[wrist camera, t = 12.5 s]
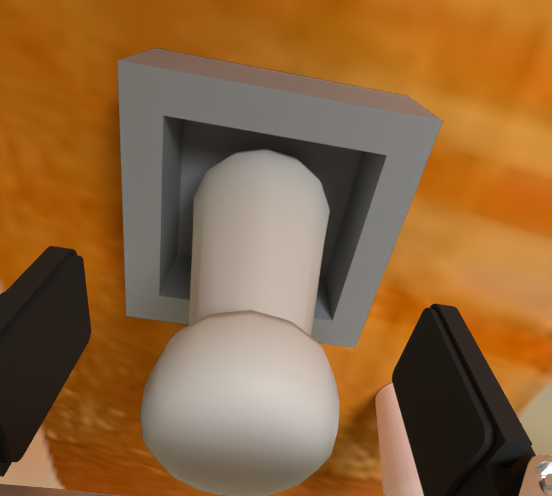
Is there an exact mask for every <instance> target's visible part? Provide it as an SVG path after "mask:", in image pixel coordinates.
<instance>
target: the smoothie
mask: <svg viewBox="0 0 552 496" xmlns="http://www.w3.org/2000/svg"><path fill="white" fill-rule="evenodd" d="M375 404H376V415H377V427H378V438H379V449H380V460H381V471H382V482H383V494H384V496H424V494H423V491H422V487H421V484H420V480H419V476H418V473H417V469H416V466H415V462H414V458H413V455H412V451H411V448H410V444H409V440H408V437H407V433H406V430H405V426H404V423H403V419H402V415H401V412H400V408H399V405H398V401H397V397H396V394H395V390H394V387H393V383H391V384H389V385H387V386H385V387H383V388H382V389H381V390H380V391H379V392H378V393H377V395H376V398H375Z"/></svg>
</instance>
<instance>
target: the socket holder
mask: <svg viewBox="0 0 552 496" xmlns="http://www.w3.org/2000/svg"><path fill="white" fill-rule="evenodd" d="M118 90H119V119H120V148H121V177H122V207H123V236H124V265H125V294H126V316H129V317H136V318H143V319H150V320H157V321H165V322H172V323H179V324H186V325H189V310H190V287H191V264H192V240H193V200H194V195H195V193H196V191H197V190H198V188H199V186H200V184H201V182H202V180H203V178H204V176H205V174H206V172H207V171H208V170H209V169H210V168H212V167H213V166H215V165H217V164H218V163H220V162H221V161H223V160H225V159H226V158H228V157H229V156H231V155H233V154H234V153H236V152H242V151H249V150H256V149H263V148H269V149H271V150H274V151H277V152H280V153H283V154H286V155H289V156H292V157H295V158H297V159H298V160H299V161H300V162H301V163H302V164H304V165H305V166H306V167H307V168H308V169H309V170H310V171H311V172H312V173H313V174H314V175H315V176H316V177H317V178H318V179H319V180H320V182H321V184H322V187H323V191H324V194H325V197H326V200H327V203H328V206H329V209H330V213H329V218H328V224H327V229H326V235H325V240H324V247H323V255H322V262H321V269H320V276H319V283H318V290H317V297H316V304H315V311H314V319H313V326H312V333H311V336H312V337H313V338H314V339H316V340H317V341H318V342H319V343H322V344H330V345H337V346H344V347H351V348H355V347H356V344H357V342H358V339H359V337H360V334H361V331H362V329H363V326H364V324H365V321H366V318H367V316H368V313H369V311H370V308H371V305H372V303H373V300H374V298H375V295H376V293H377V290H378V287H379V285H380V282H381V280H382V277H383V274H384V272H385V269H386V267H387V264H388V261H389V259H390V256H391V254H392V251H393V248H394V246H395V243H396V241H397V238H398V235H399V233H400V230H401V228H402V225H403V223H404V220H405V217H406V215H407V212H408V210H409V207H410V204H411V202H412V199H413V197H414V194H415V191H416V189H417V186H418V184H419V181H420V178H421V176H422V173H423V171H424V168H425V166H426V163H427V160H428V158H429V155H430V153H431V150H432V147H433V145H434V142H435V140H436V137H437V134H438V132H439V129H440V127H441V124H442V120H441V119H440V118H438V117H437V116H435V115H434V114H432V113H431V112H430V111H428V110H427V109H425V108H424V107H423V106H421V105H420V104H418V103H417V102H415V101H414V100H413V99H411V98H410V97H408V96H405V95H400V94H395V93H390V92H384V91H379V90H374V89H369V88H363V87H358V86H353V85H348V84H342V83H337V82H332V81H327V80H321V79H316V78H311V77H306V76H300V75H295V74H290V73H285V72H279V71H274V70H269V69H264V68H258V67H253V66H248V65H243V64H237V63H232V62H227V61H222V60H216V59H211V58H206V57H201V56H195V55H190V54H185V53H180V52H174V51H169V50H164V49H159V48H155V49H151V50H148V51H145V52H142V53H138V54H135V55H132V56H129V57H126V58H122V59H119V60H118Z"/></svg>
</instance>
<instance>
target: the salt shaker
mask: <svg viewBox="0 0 552 496" xmlns="http://www.w3.org/2000/svg"><path fill="white" fill-rule="evenodd" d="M329 213H330V209H329V206H328V203H327V200H326V197H325V194H324V191H323V187H322V184H321V182H320V180H319V179H318V178H317V177H316V176H315V175H314V174H313V173H312V172H311V171H310V170H309V169H308V168H307V167H306V166H305V165H304V164H302V163H301V162H300V161H299V160H298V159H297V158H295V157H292V156H289V155H286V154H283V153H280V152H277V151H274V150H271V149H269V148H263V149H256V150H249V151H242V152H236V153H234V154H233V155H231V156H229V157H228V158H226V159H225V160H223V161H221V162H220V163H218V164H217V165H215V166H213V167H212V168H210V169H209V170H208V171H207V172H206V174H205V176H204V178H203V180H202V182H201V184H200V186H199V188H198V190H197V191H196V193H195V195H194V200H193V240H192V264H191V287H190V310H189V325H188V326H186V327H184V328H182V329H180V330H179V331H178V332H177V333H176V334H175V335H174V336H173V337H172V338H171V339H170V341H169V342H168V344H167V345H166V347H165V349H164V350H163V352H162V353H161V355H160V357H159V358H158V360H157V362H156V363H155V365H154V367H153V369H152V372H151V374H150V376H149V378H148V380H147V382H146V385H145V387H144V394H143V400H142V407H141V413H140V416H141V425H142V434H143V442H144V443H145V445H146V446H147V447H148V449H149V450H150V451H151V453H152V454H153V455H154V457H155V458H156V459H157V460H158V461H159V462H160V463H161V464H162V466H163V467H164V468H165V469H166V470H167V471H168V472H169V473H170V474H171V475H172V476H173V477H174V478H176V479H178V480H180V481H182V482H184V483H186V484H188V485H190V486H192V487H194V488H196V489H198V490H200V491H205V492H210V493H216V494H221V495H227V496H268V495H271V494H274V493H277V492H280V491H283V490H286V489H289V488H292V487H295V486H298V485H299V484H300V483H302V482H303V481H304V480H305V479H307V478H308V477H309V476H310V475H312V474H313V473H314V472H315V471H317V470H318V469H319V468H320V467H321V466H322V465H323V464H324V462H325V461H326V460H327V459H328V458H329V457H330V456H331V454H332V450H333V446H334V443H335V439H336V435H337V432H338V423H339V406H340V401H339V396H338V391H337V386H336V381H335V377H334V375H333V372H332V370H331V367H330V365H329V362H328V360H327V357H326V355H325V352H324V350H323V348H322V347H321V345H320V343H319V342H318V341H317V340H316V339H314V338H313V337H312V336H311V333H312V326H313V319H314V311H315V304H316V297H317V290H318V283H319V276H320V269H321V262H322V255H323V247H324V240H325V235H326V229H327V224H328V218H329Z"/></svg>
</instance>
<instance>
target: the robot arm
mask: <svg viewBox="0 0 552 496" xmlns="http://www.w3.org/2000/svg"><path fill="white" fill-rule="evenodd" d="M90 335H91V326H90V317H89V308H88V299H87V290H86V281H85V272H84V263H83V258H82V257H81V256H77V253H76V251H75V250H73V249H68V248H61V247H54V246H50V247H48V248H47V249H46V250H45V251H44V252H43V253H42V254H41V255H40V256H39V257H38V258H37V259H36V260H35V261H34V262H33V264H32V265H31V266H30V267H29V268H28V269H27V270H26V271H25V272H24V273H23V274H22V275H21V276H20V277H19V278H18V279H17V280H16V281H15V282H14V283H13V285H12V286H11V287H10V288H9V289H8V290H7V291H6V292H4V293H2V294H0V476H4V475H5V473H6V472H7V470H8V468H9V466H10V465H11V463H12V462H18V461H19V460H20V459H21V458H22V457H23V455H24V453H25V452H26V450H27V448H28V447H29V445H30V443H31V441H32V440H33V438H34V436H35V434H36V433H37V431H38V429H39V427H40V426H41V424H42V422H43V420H44V419H45V417H46V415H47V413H48V412H49V410H50V408H51V406H52V405H53V403H54V401H55V399H56V398H57V396H58V394H59V392H60V391H61V389H62V387H63V385H64V384H65V382H66V380H67V379H68V377H69V375H70V373H71V372H72V370H73V368H74V366H75V365H76V363H77V361H78V359H79V358H80V356H81V354H82V352H83V351H84V349H85V347H86V345H87V344H88V341H89V339H90ZM392 382H393V387H394V390H395V394H396V397H397V401H398V405H399V408H400V412H401V415H402V419H403V423H404V426H405V430H406V433H407V437H408V440H409V444H410V448H411V451H412V455H413V458H414V462H415V466H416V469H417V473H418V476H419V480H420V484H421V487H422V491H423V494H424V496H552V456H550V455H537V456H536V455H535V453H534V451H533V449H532V447H531V445H532V443H531V441H530V440H529V437H528V436H527V434H526V432H525V430H524V429H523V427H522V425H521V423H520V421H519V419H518V418H517V416H516V414H515V412H514V410H513V408H512V407H511V405H510V403H509V401H508V399H507V398H506V396H505V394H504V392H503V390H502V389H501V387H500V385H499V383H498V381H497V380H496V378H495V376H494V374H493V372H492V371H491V369H490V367H489V365H488V363H487V361H486V360H485V358H484V356H483V354H482V352H481V351H480V349H479V347H478V345H477V343H476V342H475V340H474V338H473V336H472V334H471V333H470V331H469V329H468V327H467V325H466V324H465V322H464V320H463V318H462V316H461V315H460V313H459V311H458V309H457V308H456V307H453V306H447V305H440V304H433V305H431V307H430V308H425V309H424V311H423V312H422V314H421V316H420V318H419V320H418V322H417V325H416V327H415V329H414V331H413V333H412V335H411V337H410V339H409V341H408V343H407V345H406V347H405V349H404V351H403V353H402V355H401V357H400V359H399V361H398V363H397V365H396V367H395V369H394V371H393V375H392ZM0 496H124V495H114V494H105V493H95V492H85V491H75V490H65V489H52V488H41V487H29V486H16V485H5V484H0Z"/></svg>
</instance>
